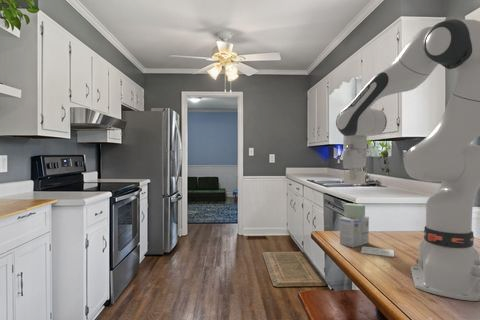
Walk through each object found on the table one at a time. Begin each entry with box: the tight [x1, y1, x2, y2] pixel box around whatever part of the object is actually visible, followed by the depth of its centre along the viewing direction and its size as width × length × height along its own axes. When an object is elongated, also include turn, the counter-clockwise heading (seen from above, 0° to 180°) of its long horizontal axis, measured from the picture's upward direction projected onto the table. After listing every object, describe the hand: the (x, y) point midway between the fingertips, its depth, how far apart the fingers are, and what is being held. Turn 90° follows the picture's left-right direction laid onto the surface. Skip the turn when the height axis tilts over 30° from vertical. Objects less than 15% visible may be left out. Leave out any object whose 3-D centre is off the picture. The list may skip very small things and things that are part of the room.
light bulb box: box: [339, 215, 370, 249], centre depth 126 cm, size 11×7×11 cm, turn 127°
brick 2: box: [343, 202, 366, 219], centre depth 126 cm, size 4×7×5 cm, turn 51°
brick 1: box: [343, 170, 366, 185], centre depth 126 cm, size 4×7×5 cm, turn 55°
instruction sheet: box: [360, 245, 395, 258], centre depth 116 cm, size 8×11×1 cm
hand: (354, 179), depth 126 cm, fingers closed on brick 1, 4 cm apart
